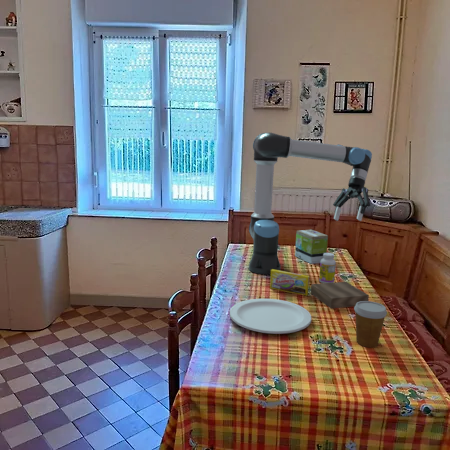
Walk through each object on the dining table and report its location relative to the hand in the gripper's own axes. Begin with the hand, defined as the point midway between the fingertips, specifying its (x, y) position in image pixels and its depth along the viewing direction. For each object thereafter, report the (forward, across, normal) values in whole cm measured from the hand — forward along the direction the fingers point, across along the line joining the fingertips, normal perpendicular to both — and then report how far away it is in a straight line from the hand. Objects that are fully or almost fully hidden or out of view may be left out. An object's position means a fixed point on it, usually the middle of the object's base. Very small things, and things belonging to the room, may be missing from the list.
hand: (347, 219), depth 200 cm
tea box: (+20, +24, -8) cm, 32 cm away
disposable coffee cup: (+55, -51, +36) cm, 83 cm away
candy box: (+44, -5, +29) cm, 53 cm away
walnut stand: (+41, -22, +18) cm, 50 cm away
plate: (+57, -22, +50) cm, 79 cm away
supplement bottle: (+33, -5, +8) cm, 35 cm away
